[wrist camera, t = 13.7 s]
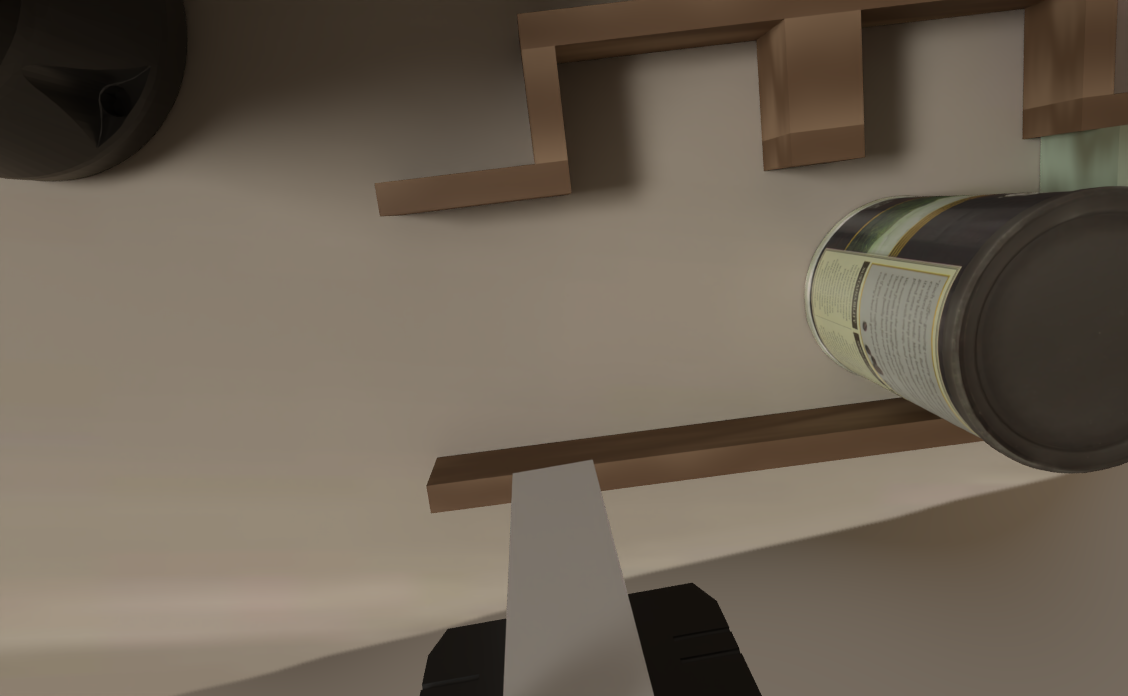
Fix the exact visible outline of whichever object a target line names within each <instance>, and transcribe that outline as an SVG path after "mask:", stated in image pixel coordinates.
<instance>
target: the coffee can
mask: <svg viewBox="0 0 1128 696" xmlns="http://www.w3.org/2000/svg"><path fill="white" fill-rule="evenodd" d="M804 300H805V311H806V317H807V322H808V324H809V327H810V329H811V331H812V333H813V336H814V338H815V340H816V341H817V343H818V344H819V346H820V347H821V348H822V350H823V351H824V352H825V353H826V354H827V355H828V356H829V357H830V358H831V359H832V360H833V361H834V362H835V363H837V364H838V365H840V366H841V367H843V368H844V369H846V370H847V371H849V372H851V373H854V374H857V375H860V376H863V377H865V378H867V379H869V380H870V381H872V382H874V383H876V384H878V385H880V386H882V387H884V388H886V389H887V390H889V391H891V392H893V393H895V394H897V395H899V396H901V397H903V398H904V399H906V400H908V401H910V402H912V403H914V404H916V405H918V406H920V407H922V408H924V409H926V410H928V411H930V412H931V413H933V414H935V415H937V416H939V417H941V418H943V419H945V420H947V421H948V422H950V423H952V424H954V425H956V426H958V427H960V428H962V429H964V430H966V431H968V432H970V433H972V434H973V435H975V436H977V437H979V438H981V439H982V440H983V441H985V442H986V443H987V444H988V445H990V446H991V447H992V448H994V449H995V450H997V451H998V452H1000V453H1002V454H1004V455H1005V456H1007V457H1009V458H1011V459H1012V460H1015V461H1017V462H1019V463H1021V464H1023V465H1026V466H1029V467H1032V468H1035V469H1040V470H1045V471H1050V472H1057V473H1087V472H1093V471H1099V470H1103V469H1108V468H1111V467H1115V466H1119V465H1122V464H1124V463H1127V462H1128V186H1105V187H1095V188H1086V189H1079V190H1075V191H1064V192H1042V193H1036V192H1035V193H1014V194H1013V193H1011V194H992V195H963V196H930V197H916V196H894V197H888V198H883V199H878V200H875V201H872V202H870V203H867V204H865V205H863V206H861V207H859V208H857V209H856V210H854V211H852V212H851V213H849V214H848V215H847V216H845V217H844V218H843V219H842V220H840V221H839V222H838V223H837V224H836V225H835V226H834V227H833V228H832V229H831V230H830V231H829V233H828V234H827V235H826V236H825V238H824V239H823V240H822V242H821V243H820V245H819V246H818V248H817V250H816V252H815V254H814V256H813V258H812V261H811V264H810V266H809V269H808V272H807V277H806V282H805V293H804Z"/></svg>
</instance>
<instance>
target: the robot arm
mask: <svg viewBox="0 0 1128 696" xmlns="http://www.w3.org/2000/svg"><path fill="white" fill-rule="evenodd" d="M186 53H187V26H186V17H185V10H184V5H183V0H0V178H6V179H20V180H36V181H63V180H71V179H78V178H82V177H86V176H90V175H93V174H96V173H99V172H102V171H104V170H107V169H109V168H111V167H113V166H115V165H117V164H119V163H121V162H122V161H124V160H125V159H127V158H129V157H130V156H131V155H133V154H134V153H135V152H137V151H138V150H139V149H140V148H141V147H142V146H143V145H145V144H146V143H147V142H148V140H149V139H150V138H151V137H152V136H153V135H154V134H155V133H156V131H157V130H158V129H159V128H160V126H161V125H162V123H163V122H164V120H165V119H166V117H167V115H168V113H169V112H170V110H171V108H172V106H173V104H174V101H175V99H176V97H177V94H178V91H179V88H180V85H181V82H182V78H183V74H184V68H185V62H186ZM422 687H423V690H421V692H420V696H762V695H761V693H760V691H759V689H758V687H757V685H756V683H755V680H754V678H753V676H752V674H751V672H750V670H749V668H748V666H747V664H746V662H745V659H744V657H743V655H742V654H740V651H739V647H738V645H737V643H736V641H735V638H734V636H733V634H732V632H730V630H729V626H728V624H727V622H726V619H725V617H724V615H723V613H722V611H721V609H720V607H719V605H718V603H717V601H716V600H715V599H713V598H712V597H711V596H709V595H708V594H707V593H705V592H704V591H703V590H701V589H700V588H699V587H697V586H696V585H695V584H693V583H688V584H683V585H677V586H671V587H665V588H661V589H654V590H649V591H643V592H637V593H632V594H627V590H626V586H625V582H624V578H623V574H622V570H621V567H620V563H619V559H618V555H617V551H616V547H615V544H614V540H613V536H612V532H611V528H610V524H609V520H608V517H607V513H606V509H605V505H604V501H603V497H602V493H601V490H600V486H599V482H598V478H597V474H596V470H595V467H594V463H593V460H588V461H582V462H576V463H570V464H565V465H559V466H553V467H547V468H542V469H536V470H530V471H524V472H519V473H513V478H512V501H511V525H510V548H509V572H508V595H507V619H501V620H495V621H490V622H485V623H479V624H473V625H467V626H462V627H456V628H451V629H447V631H446V632H445V634H444V635H443V636H442V638H441V639H440V640H439V642H438V643H437V644H436V646H435V647H434V648H433V650H432V651H431V653H430V654H429V655H428V659H427V664H426V669H425V673H424V678H423V683H422Z"/></svg>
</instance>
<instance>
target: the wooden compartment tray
mask: <svg viewBox="0 0 1128 696" xmlns="http://www.w3.org/2000/svg"><path fill="white" fill-rule="evenodd" d="M1117 6H1118V0H632V1H624V2H615V3H606V4H598V5H589V6H581V7H572V8H563V9H555V10H546V11H538V12H529V13H520V14H517V18H518V32H519V41H520V49H521V57H522V65H523V74H524V82H525V90H526V98H527V106H528V114H529V122H530V130H531V138H532V146H533V154H534V162H535V164H531V165H523V166H515V167H507V168H498V169H490V170H482V171H474V172H465V173H457V174H449V175H441V176H432V177H424V178H416V179H408V180H399V181H391V182H383V183H375V189H376V195H377V201H378V207H379V213H380V216H398V215H406V214H414V213H422V212H430V211H439V210H447V209H455V208H463V207H471V206H480V205H488V204H496V203H504V202H512V201H521V200H529V199H537V198H545V197H553V196H561V195H568V194H570V193H572V192H571V183H570V175H569V166H568V157H567V148H566V140H565V131H564V122H563V114H562V105H561V96H560V87H559V79H558V70H557V64H559V63H568V62H576V61H585V60H593V59H601V58H610V57H618V56H627V55H635V54H644V53H652V52H661V51H669V50H678V49H686V48H695V47H703V46H712V45H720V44H729V43H737V42H746V41H754V40H756V42H757V59H758V76H759V94H760V111H761V128H762V145H763V162H764V171H766V170H774V169H783V168H791V167H799V166H807V165H815V164H824V163H831V162H838V161H844V160H850V159H857V158H863V157H865V139H864V104H863V69H862V34H861V28H864V27H873V26H881V25H890V24H898V23H906V22H915V21H923V20H932V19H940V18H949V17H957V16H966V15H974V14H983V13H991V12H1000V11H1008V10H1017V9H1025V24H1024V83H1023V139H1028V138H1037V137H1041V154H1040V193H1042V192H1064V191H1075V190H1079V189H1086V188H1095V187H1105V186H1128V92H1126V93H1118V94H1114V77H1115V53H1116V30H1117ZM978 441H983V440H982V439H981V438H979V437H977V436H975V435H973V434H972V433H970V432H968V431H966V430H964V429H962V428H960V427H958V426H956V425H954V424H952V423H950V422H948V421H947V420H945V419H943V418H941V417H939V416H937V415H935V414H933V413H931V412H930V411H928V410H926V409H924V408H922V407H920V406H918V405H916V404H914V403H912V402H910V401H908V400H906V399H904V398H903V397H902V398H895V399H887V400H879V401H872V402H864V403H856V404H848V405H841V406H833V407H825V408H818V409H810V410H802V411H795V412H787V413H779V414H771V415H764V416H756V417H748V418H741V419H733V420H725V421H717V422H710V423H702V424H694V425H687V426H679V427H671V428H663V429H656V430H648V431H640V432H633V433H625V434H617V435H609V436H602V437H594V438H586V439H579V440H571V441H563V442H555V443H548V444H540V445H532V446H525V447H517V448H509V449H501V450H494V451H486V452H478V453H471V454H463V455H455V456H447V457H440V458H437V460H436V462H435V465H434V468H433V470H432V473H431V475H430V478H429V481H428V483H427V492H428V498H429V504H430V510H431V513H437V512H445V511H453V510H460V509H468V508H475V507H483V506H491V505H498V504H506V503H511V501H512V478H513V473H519V472H524V471H530V470H536V469H542V468H547V467H553V466H559V465H565V464H570V463H576V462H582V461H588V460H593V463H594V467H595V470H596V474H597V478H598V482H599V486H600V490H601V491H605V490H613V489H620V488H628V487H635V486H643V485H651V484H658V483H666V482H673V481H681V480H689V479H696V478H704V477H712V476H719V475H727V474H734V473H742V472H750V471H757V470H765V469H772V468H780V467H788V466H795V465H803V464H811V463H818V462H826V461H833V460H841V459H849V458H856V457H864V456H871V455H879V454H887V453H894V452H902V451H910V450H917V449H925V448H932V447H940V446H948V445H955V444H963V443H970V442H978Z"/></svg>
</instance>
